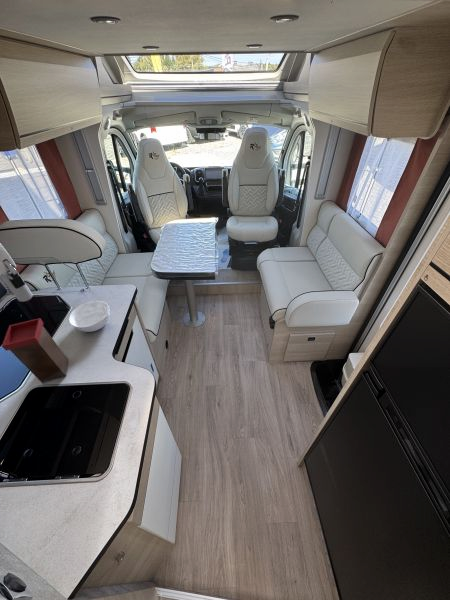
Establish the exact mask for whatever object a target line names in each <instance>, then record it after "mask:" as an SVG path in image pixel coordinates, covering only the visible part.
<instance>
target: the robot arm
mask: <svg viewBox="0 0 450 600" xmlns="http://www.w3.org/2000/svg"><path fill="white" fill-rule="evenodd" d="M16 268H17V264H16V263H15V261H14V260H13V258H12V256H11V255H10V253H8V251H7V250H6V248H5V247H4V246H3V244H2V243H1V242H0V274H4V273H5V274H6V275H7V276H8V277H9V278H10V279H9V280H10V282H11V283H12V284H13V286H14V287H15V288H16V289H18V288H20V287H21V286H23V285H25V284H26V282H25V281H24V279H23V278H22V276H21V275H20V273H19V271H18V270H17V269H16ZM6 269H9V270H7V271H6ZM10 271H11V274H9V273H8V272H10ZM18 273H19V274H18ZM20 276H21V277H20ZM22 279H23V280H22ZM24 282H25V283H24Z"/></svg>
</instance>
